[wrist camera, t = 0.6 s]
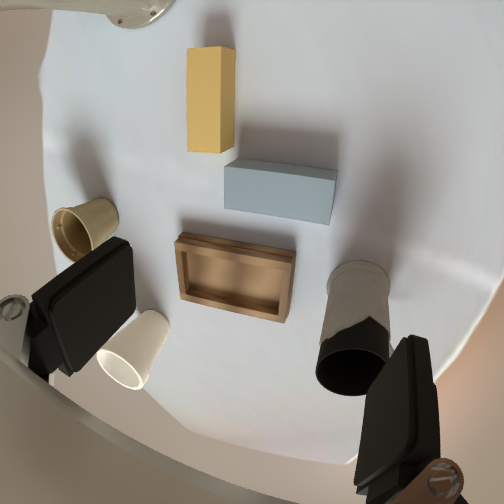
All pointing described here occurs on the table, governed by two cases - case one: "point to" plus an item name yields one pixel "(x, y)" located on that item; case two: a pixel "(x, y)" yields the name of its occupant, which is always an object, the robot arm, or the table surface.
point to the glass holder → (354, 329)
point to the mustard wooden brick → (210, 99)
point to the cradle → (235, 276)
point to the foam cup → (135, 349)
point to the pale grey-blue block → (280, 190)
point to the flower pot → (83, 227)
